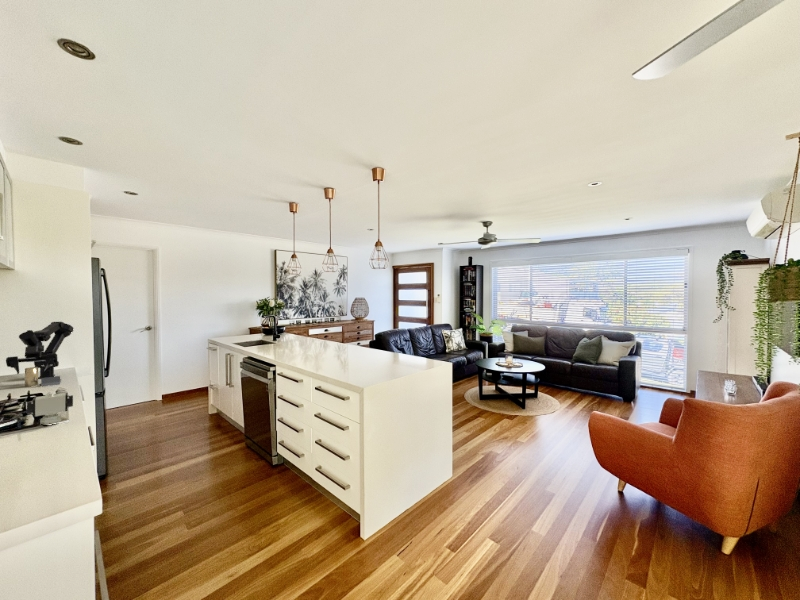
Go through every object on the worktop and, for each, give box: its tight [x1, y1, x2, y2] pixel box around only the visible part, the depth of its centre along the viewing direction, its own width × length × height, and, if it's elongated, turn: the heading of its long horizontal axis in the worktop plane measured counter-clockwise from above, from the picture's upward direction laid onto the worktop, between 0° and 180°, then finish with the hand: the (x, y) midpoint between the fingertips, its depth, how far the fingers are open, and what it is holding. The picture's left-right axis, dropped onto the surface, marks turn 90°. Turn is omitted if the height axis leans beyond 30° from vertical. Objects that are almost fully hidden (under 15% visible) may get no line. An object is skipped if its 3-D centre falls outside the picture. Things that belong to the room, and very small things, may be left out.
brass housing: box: [24, 366, 39, 388], centre depth 175 cm, size 5×5×10 cm
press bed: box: [40, 375, 62, 387], centre depth 179 cm, size 9×7×4 cm
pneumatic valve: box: [26, 392, 74, 426], centre depth 122 cm, size 6×12×12 cm, turn 136°
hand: (31, 372), depth 174 cm, fingers open, 9 cm apart
